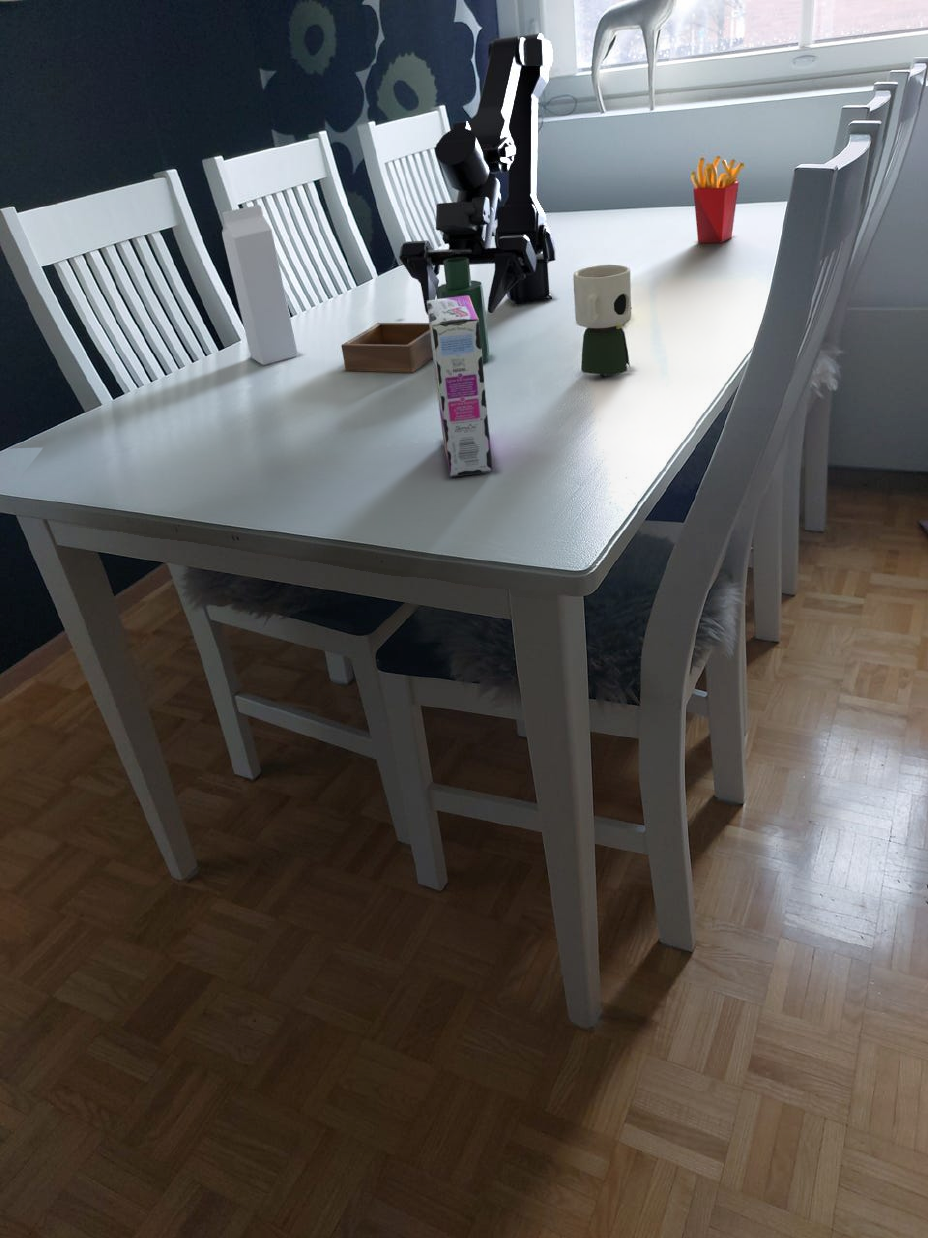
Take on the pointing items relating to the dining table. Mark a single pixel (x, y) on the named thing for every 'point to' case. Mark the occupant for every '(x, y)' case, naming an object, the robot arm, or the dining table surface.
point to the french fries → (715, 200)
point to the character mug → (603, 317)
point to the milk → (258, 285)
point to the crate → (389, 348)
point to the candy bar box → (460, 384)
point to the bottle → (465, 294)
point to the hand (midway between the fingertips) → (458, 312)
